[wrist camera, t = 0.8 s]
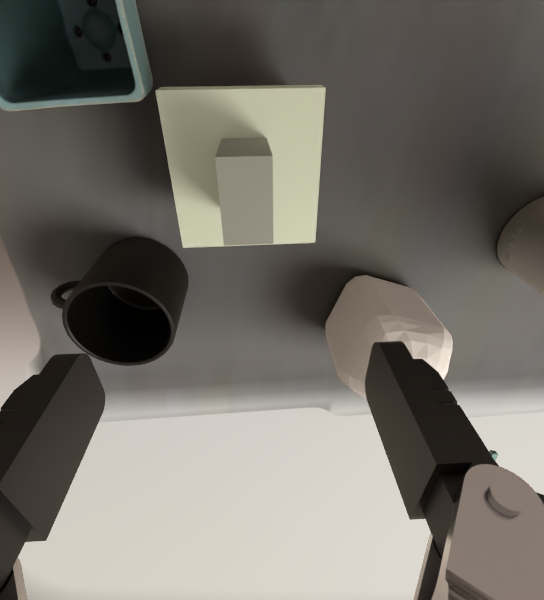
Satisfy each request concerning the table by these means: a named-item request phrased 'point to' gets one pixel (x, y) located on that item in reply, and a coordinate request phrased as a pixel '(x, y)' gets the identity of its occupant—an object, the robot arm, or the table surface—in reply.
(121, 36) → the flower pot
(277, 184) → the lid
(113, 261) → the mug
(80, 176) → the table surface
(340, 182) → the table surface
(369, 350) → the soap bottle
